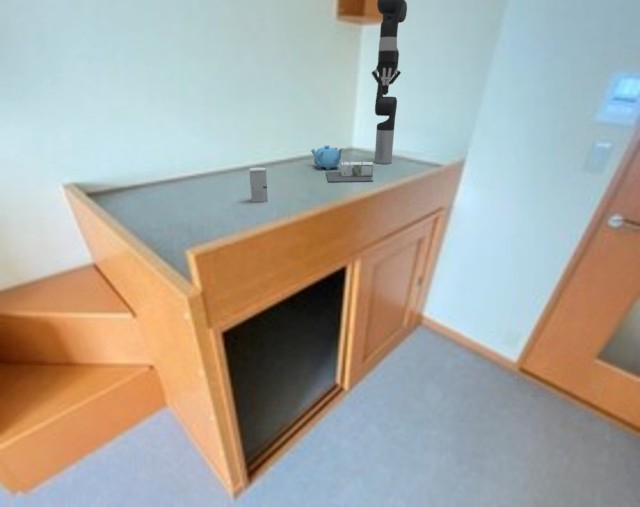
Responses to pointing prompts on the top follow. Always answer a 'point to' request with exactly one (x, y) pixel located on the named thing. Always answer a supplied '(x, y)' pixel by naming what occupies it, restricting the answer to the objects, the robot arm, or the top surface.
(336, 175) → the mat
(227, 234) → the top surface
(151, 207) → the top surface
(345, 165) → the syrup box
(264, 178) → the skincare box
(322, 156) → the teapot
